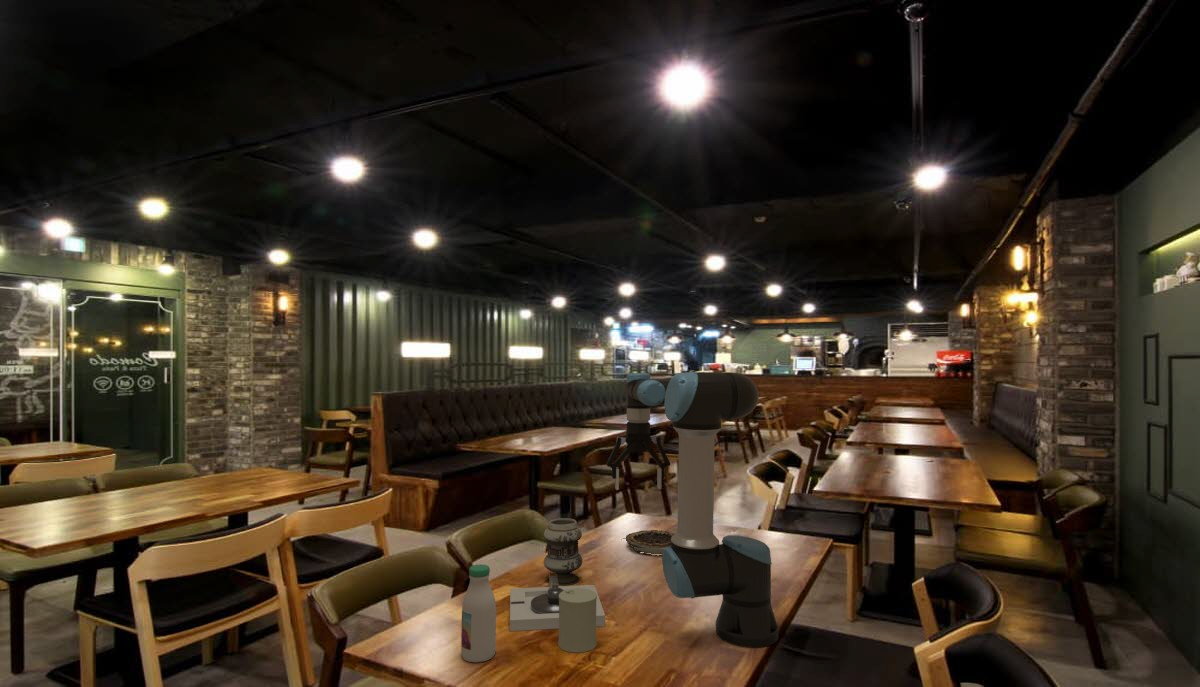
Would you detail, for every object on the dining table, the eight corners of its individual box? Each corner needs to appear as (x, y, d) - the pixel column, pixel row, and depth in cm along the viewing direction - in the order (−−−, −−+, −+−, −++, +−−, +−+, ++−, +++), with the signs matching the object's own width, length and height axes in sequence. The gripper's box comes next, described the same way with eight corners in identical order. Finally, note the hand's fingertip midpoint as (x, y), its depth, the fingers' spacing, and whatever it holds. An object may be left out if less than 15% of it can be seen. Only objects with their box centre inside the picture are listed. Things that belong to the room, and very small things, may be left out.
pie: (704, 546, 230) (704, 532, 230) (672, 567, 207) (672, 552, 207) (637, 535, 245) (637, 522, 245) (600, 553, 222) (600, 539, 222)
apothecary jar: (558, 571, 201) (558, 514, 201) (590, 577, 195) (590, 519, 195) (535, 582, 190) (535, 522, 191) (568, 589, 184) (568, 528, 185)
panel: (605, 626, 159) (605, 614, 159) (509, 631, 156) (509, 619, 156) (594, 594, 181) (594, 584, 181) (510, 598, 177) (510, 587, 177)
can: (575, 632, 155) (576, 583, 156) (604, 642, 149) (604, 592, 150) (550, 645, 148) (550, 593, 149) (579, 656, 142) (579, 603, 143)
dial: (581, 614, 163) (581, 592, 163) (531, 617, 161) (531, 595, 161) (575, 591, 179) (575, 572, 179) (529, 594, 177) (530, 573, 177)
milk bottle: (497, 647, 147) (498, 561, 147) (493, 663, 139) (494, 572, 140) (464, 647, 146) (465, 561, 147) (458, 663, 139) (459, 572, 139)
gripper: (674, 420, 204) (674, 485, 203) (598, 420, 201) (597, 487, 201) (679, 422, 197) (679, 490, 196) (600, 422, 194) (600, 491, 193)
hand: (638, 488), depth 198 cm, fingers open, 13 cm apart
